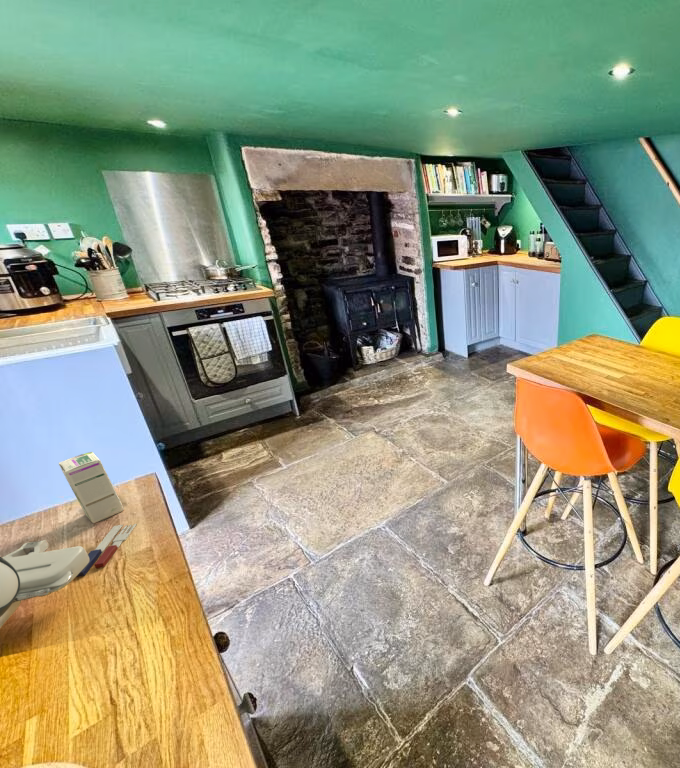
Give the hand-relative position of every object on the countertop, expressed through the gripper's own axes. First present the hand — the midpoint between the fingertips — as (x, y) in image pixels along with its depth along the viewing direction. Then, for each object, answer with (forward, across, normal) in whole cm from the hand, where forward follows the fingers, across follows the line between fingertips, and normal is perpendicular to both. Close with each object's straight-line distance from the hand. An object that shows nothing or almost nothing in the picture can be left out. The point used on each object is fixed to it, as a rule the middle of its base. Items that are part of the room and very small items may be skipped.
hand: (37, 544), depth 76 cm
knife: (+4, -6, +7) cm, 10 cm away
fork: (+4, -8, +7) cm, 11 cm away
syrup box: (+17, 0, +7) cm, 18 cm away
